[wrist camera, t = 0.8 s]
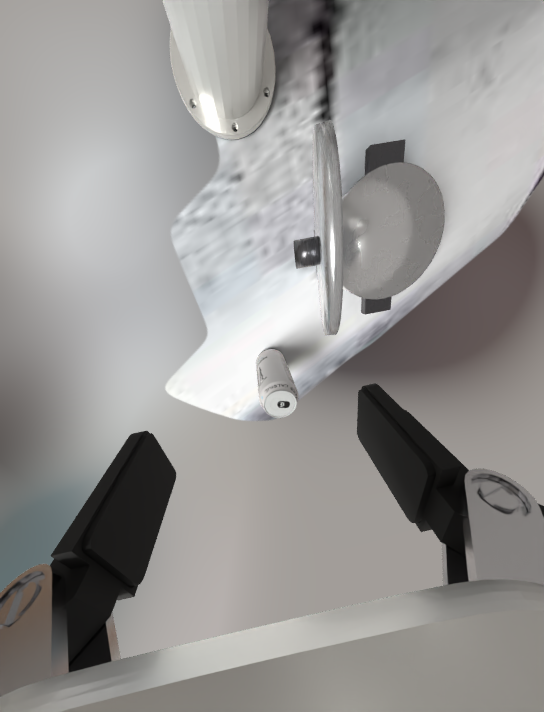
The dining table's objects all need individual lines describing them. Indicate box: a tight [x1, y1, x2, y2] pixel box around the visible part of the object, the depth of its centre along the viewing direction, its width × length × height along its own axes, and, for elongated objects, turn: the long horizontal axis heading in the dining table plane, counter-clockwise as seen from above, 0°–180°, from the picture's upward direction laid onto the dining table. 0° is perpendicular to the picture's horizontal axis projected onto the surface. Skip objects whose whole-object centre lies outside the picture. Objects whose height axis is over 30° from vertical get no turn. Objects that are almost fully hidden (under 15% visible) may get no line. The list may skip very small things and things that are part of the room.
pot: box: [314, 140, 444, 314], centre depth 32 cm, size 21×18×8 cm
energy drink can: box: [256, 349, 298, 418], centre depth 36 cm, size 6×6×15 cm
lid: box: [294, 120, 343, 335], centre depth 21 cm, size 17×18×4 cm
